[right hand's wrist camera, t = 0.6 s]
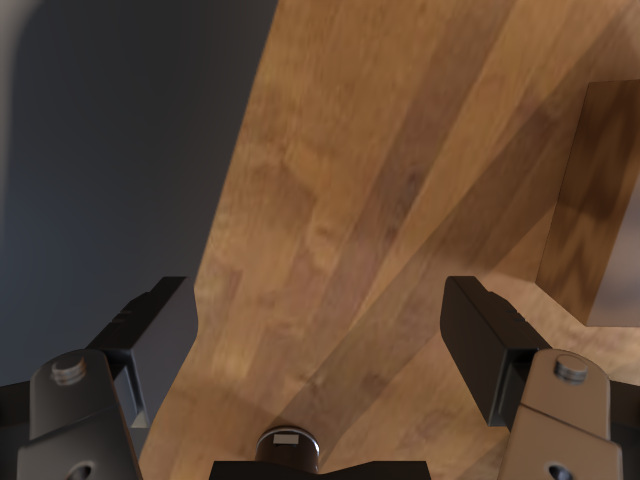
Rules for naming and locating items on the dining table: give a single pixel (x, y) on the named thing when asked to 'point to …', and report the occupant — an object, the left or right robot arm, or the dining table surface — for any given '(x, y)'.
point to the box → (599, 213)
